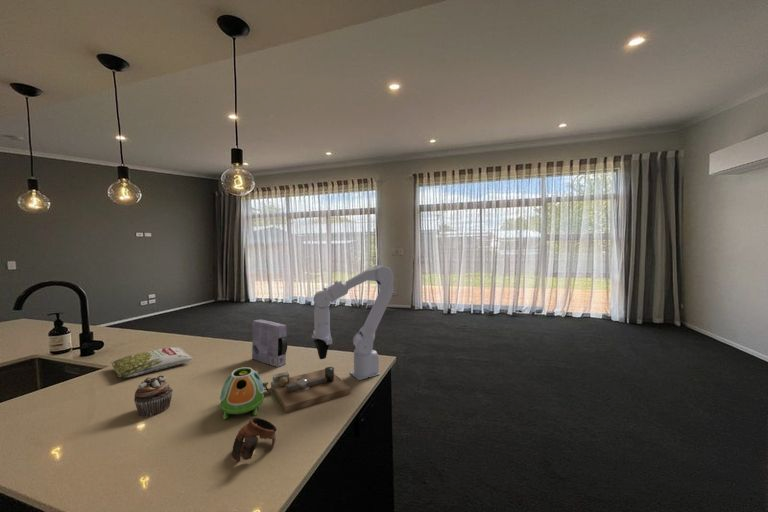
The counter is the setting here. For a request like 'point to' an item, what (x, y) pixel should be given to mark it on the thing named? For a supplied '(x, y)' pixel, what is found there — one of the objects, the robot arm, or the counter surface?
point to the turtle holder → (242, 392)
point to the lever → (311, 381)
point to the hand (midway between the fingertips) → (322, 358)
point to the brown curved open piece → (252, 438)
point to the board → (307, 390)
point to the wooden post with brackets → (266, 388)
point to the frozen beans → (150, 361)
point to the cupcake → (153, 396)
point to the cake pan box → (269, 342)
